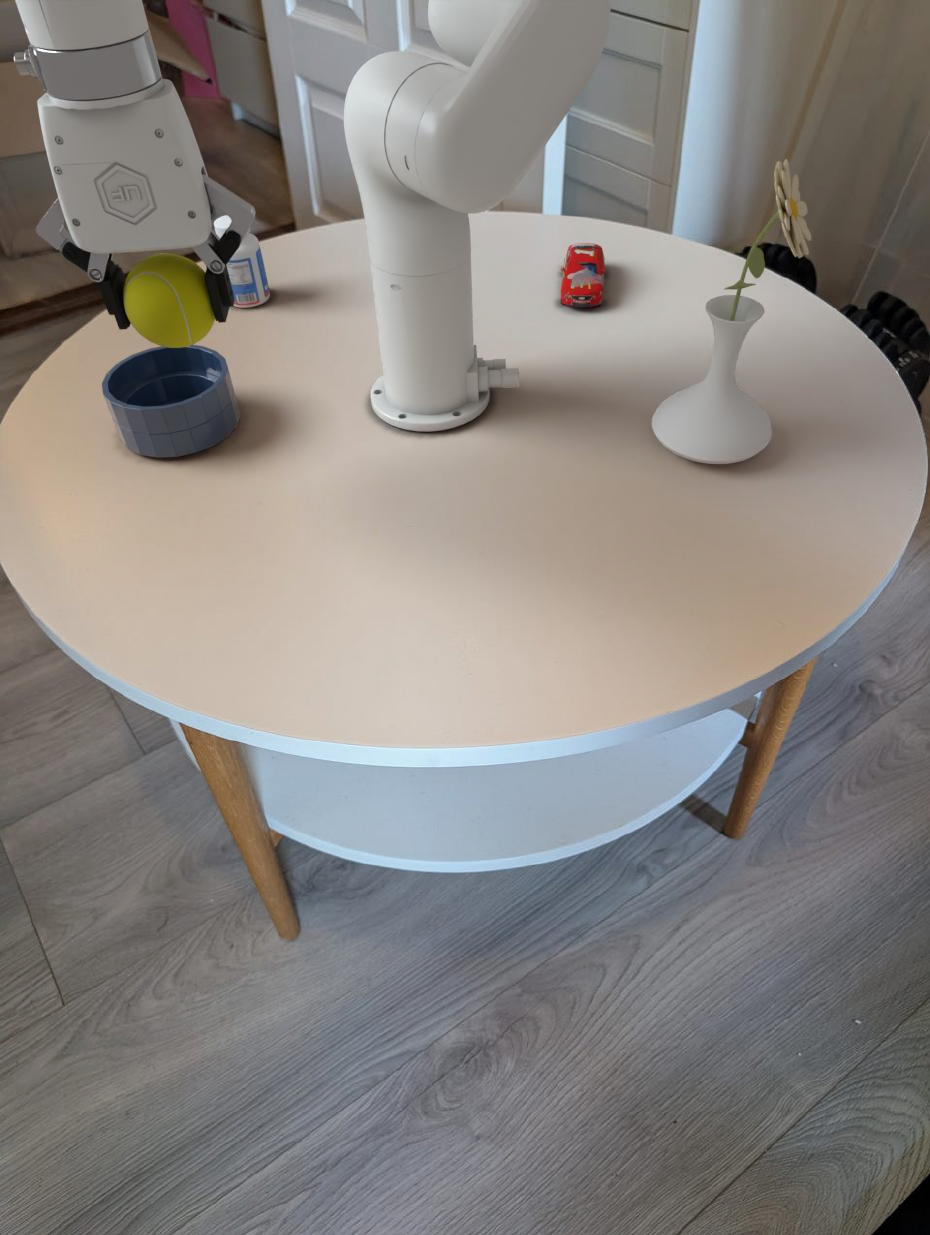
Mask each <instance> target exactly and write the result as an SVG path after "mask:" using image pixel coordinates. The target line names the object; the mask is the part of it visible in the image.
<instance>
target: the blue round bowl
mask: <svg viewBox="0 0 930 1235" xmlns="http://www.w3.org/2000/svg"><path fill="white" fill-rule="evenodd" d="M101 390H102V395H103V397H104V401H105V404H106V406H107V408H108V411H109V413H110V416H111V419H112V421H113V424H114V427H115V429H116V432H117V434H118V437H119V439H120V441H121V442H122V444H123V445H124V446H125V447H126V448H127V449H128V450H129V451H132V452H134V453H135V454H138V455H141V456H146V457H152V458H159V459H161V458H177V457H183V456H187V455H191V454H195V453H199V452H202V451H204V450H206V449H208V448H211V447H213V446H216V445H217V444H219V443H220V442H221V441H223V440H224V439H226V438H228V437H229V436H230V435H231V433H232V432H233V431H234V429H236V427H237V426H238V423H239V420H240V416H241V413H240V412H241V411H240V408H239V404H238V401H237V397H236V393H235V389H234V385H233V382H232V377H231V373H230V369H229V366H228V363H227V360H226V358H225V357H224V356H223V355H222V354H220V352H218V351H217V350H215V349H212V348H209V347H208V346H204V345H197V344H193V345H191V346H188V347H181V348H169V347H164V346H160V345H159V346H156V347H155V346H154V347H150V348H147V349H144V350H142V351H139V352H136V353H133V354H131V355H129V356H127V357H125V358H124V359H122V360H120V361H119V362H117V363H116V364H114V365H113V366H112V367H111V369H109V370H108V371H107V372H106V374H105V376H104V378H103V380H102V381H101Z"/></svg>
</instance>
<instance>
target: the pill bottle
mask: <svg viewBox="0 0 930 1235" xmlns="http://www.w3.org/2000/svg"><path fill="white" fill-rule="evenodd" d="M230 224H231V218H230V217H229V216H228V215H226V214H224V215H221V216H219V217H217V218H216V219H215V220H214V221H213V226H214V232H215V233H216V234H217V235H218V237H219V238H221V237H222V235H223V234H224V233H225V231H226V230H227V228H228V227H229V225H230ZM227 269H228V273H229V277H230V281H231V285H232V289H233V293H234V306H233V307H235V308H240V309H242V308H243V309H247V308H254V307H258V306H260V305H263V304H264V303H266V302H268V300H269V298H270V296H271V292H270V291H271V290H270V286H269V281H268V277H267V272H266V267H265V263H264V258H263V253H262V249H261V245H260V241H259V239H258V237H257V236H256V235H255V234H253V233H252V232H251V227H250V228H249V230H248V232H247V233H246V235H245V237H244V238H243V240H242V242H241V244H240V246H239V248H238V249H237V251H236V252H235V253H234V255H233V256H232V258H231V259H230V260H229V262H228V263H227Z"/></svg>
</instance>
